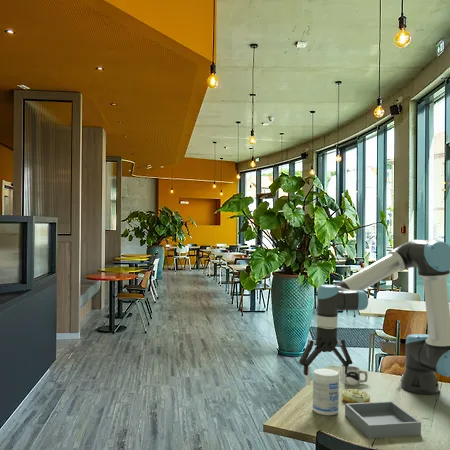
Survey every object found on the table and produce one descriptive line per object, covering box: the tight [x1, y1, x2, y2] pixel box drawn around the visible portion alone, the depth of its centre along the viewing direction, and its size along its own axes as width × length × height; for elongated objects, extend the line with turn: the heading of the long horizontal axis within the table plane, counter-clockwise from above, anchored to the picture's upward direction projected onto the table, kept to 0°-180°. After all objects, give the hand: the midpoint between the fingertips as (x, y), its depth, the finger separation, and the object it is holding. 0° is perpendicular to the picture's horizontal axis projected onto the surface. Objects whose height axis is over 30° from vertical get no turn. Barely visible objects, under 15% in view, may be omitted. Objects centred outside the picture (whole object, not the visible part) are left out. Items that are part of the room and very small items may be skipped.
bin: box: [344, 400, 422, 440], centre depth 164 cm, size 19×19×4 cm
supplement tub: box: [312, 368, 340, 416], centre depth 176 cm, size 10×10×15 cm
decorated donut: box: [341, 388, 371, 404], centre depth 186 cm, size 10×11×4 cm
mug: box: [344, 365, 369, 387], centre depth 207 cm, size 10×7×7 cm, turn 83°
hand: (325, 383), depth 176 cm, fingers open, 13 cm apart
